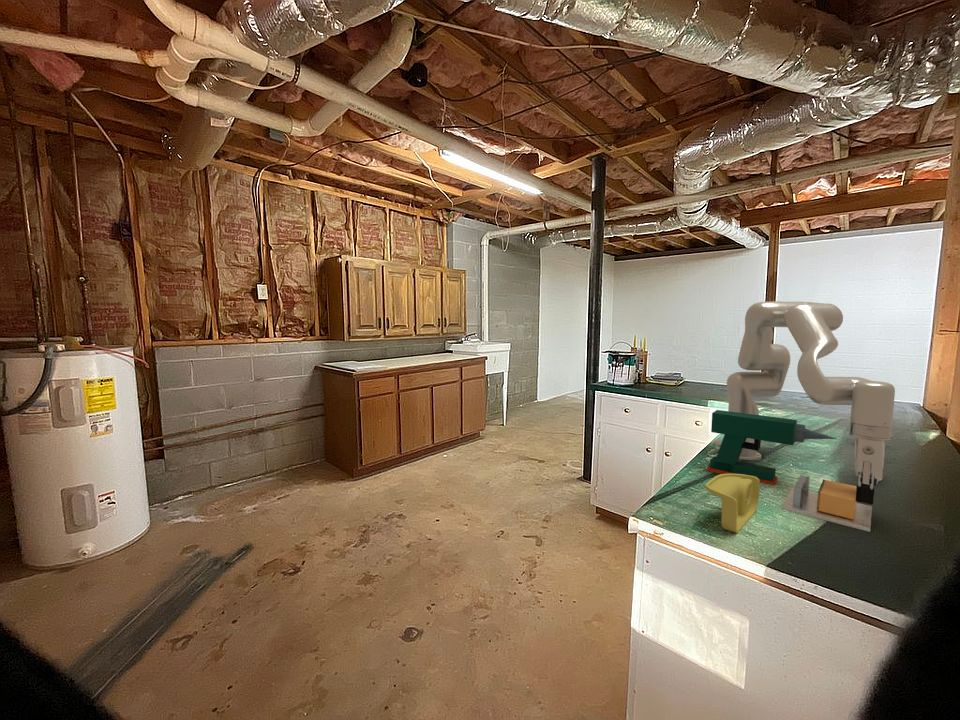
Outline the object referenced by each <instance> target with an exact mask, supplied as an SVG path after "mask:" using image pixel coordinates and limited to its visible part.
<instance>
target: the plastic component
mask: <svg viewBox="0 0 960 720" xmlns="http://www.w3.org/2000/svg"><path fill="white" fill-rule="evenodd" d="M760 485H761V482H760V481H759V479H758V478H757V477H755V476H750V475H743V474H717V475H715V476H714V477H713V478H711V479H710V480H709V481H707V482H705V489H706V491H707V492H708V493H709V494H711V495H715V496H716V497H718V498H719V499H720V500H721V520H720V522H721V527H722V529H723V530H727V531H729V532H732V533H736V534H738V533H739V532H740V531H741V530H742V529H743V528H744V526H746V524H747V523H748V522H749V521H750V520H751V518H753V517H754V515H755V513H756V511H757V509H758V505H759V499H760Z"/></svg>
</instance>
